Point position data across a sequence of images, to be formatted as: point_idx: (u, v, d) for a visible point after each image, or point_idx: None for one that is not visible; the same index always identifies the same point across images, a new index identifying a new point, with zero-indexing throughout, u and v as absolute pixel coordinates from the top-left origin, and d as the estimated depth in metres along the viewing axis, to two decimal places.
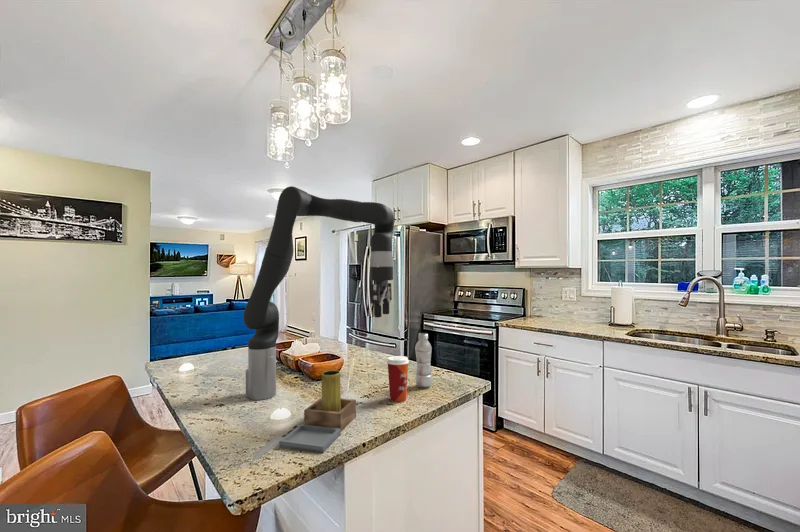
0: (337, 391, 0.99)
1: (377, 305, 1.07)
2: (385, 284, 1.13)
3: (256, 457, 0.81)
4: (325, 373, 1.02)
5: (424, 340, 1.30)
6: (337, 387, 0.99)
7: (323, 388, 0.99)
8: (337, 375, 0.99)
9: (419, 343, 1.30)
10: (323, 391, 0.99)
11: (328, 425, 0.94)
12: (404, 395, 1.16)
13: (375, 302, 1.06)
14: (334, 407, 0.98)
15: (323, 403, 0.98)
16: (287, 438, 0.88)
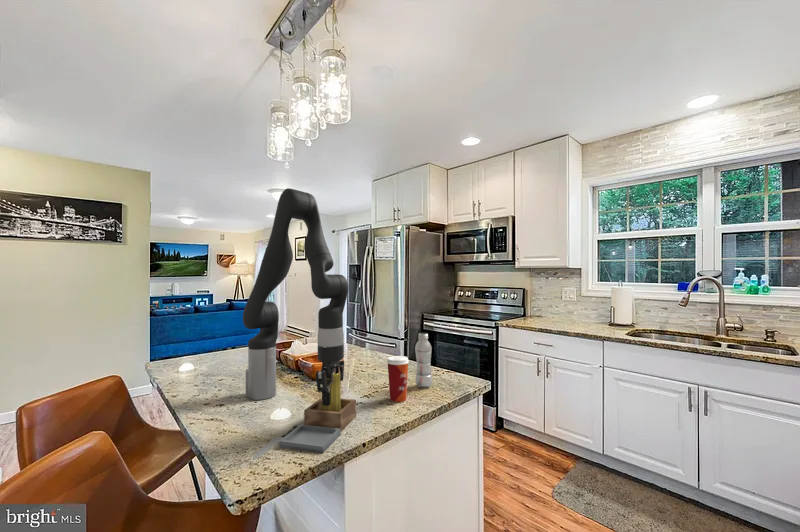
0: (337, 391, 0.99)
1: (325, 393, 0.96)
2: (335, 363, 1.01)
3: (255, 457, 0.81)
4: None
5: (424, 340, 1.30)
6: (337, 387, 0.99)
7: None
8: (337, 375, 0.99)
9: (419, 343, 1.30)
10: None
11: (328, 425, 0.94)
12: (404, 395, 1.16)
13: (322, 391, 0.95)
14: (334, 407, 0.98)
15: None
16: (287, 438, 0.88)
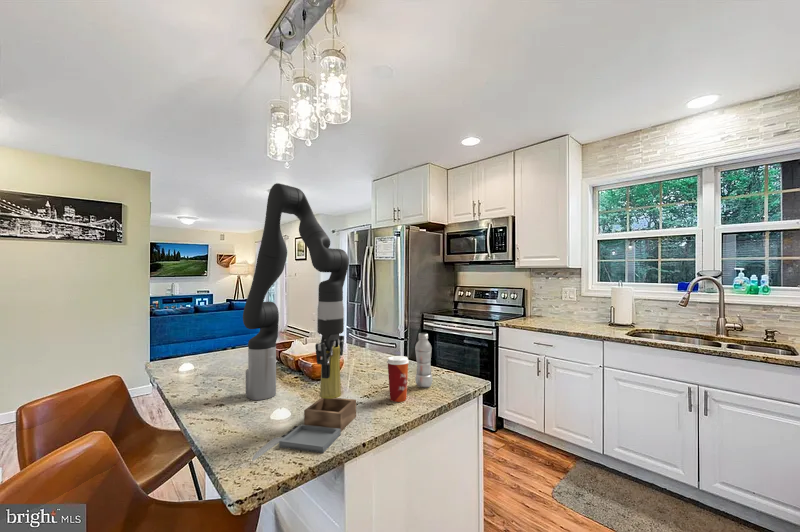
0: (336, 364, 0.99)
1: (324, 365, 0.97)
2: (334, 337, 1.01)
3: (255, 457, 0.81)
4: None
5: (424, 340, 1.30)
6: (337, 360, 0.99)
7: None
8: (337, 348, 0.99)
9: (419, 343, 1.30)
10: None
11: (328, 425, 0.94)
12: (404, 395, 1.16)
13: (321, 363, 0.95)
14: (333, 380, 0.98)
15: None
16: (287, 438, 0.88)
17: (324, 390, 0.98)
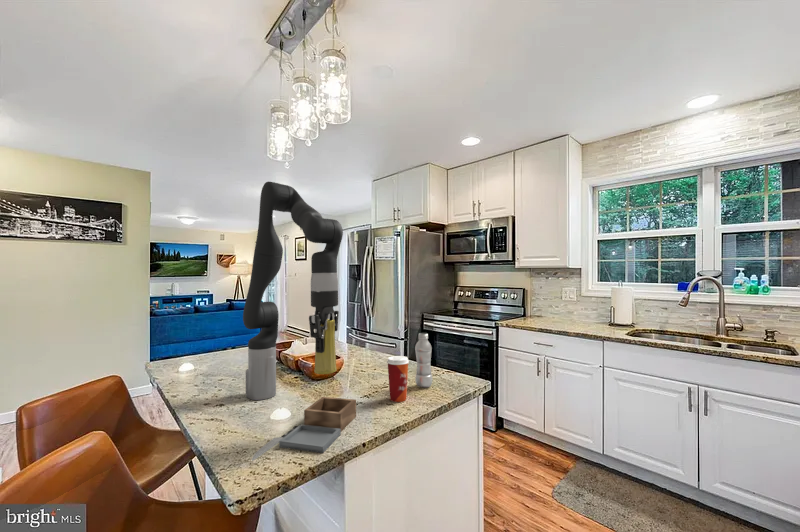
0: (331, 338, 0.95)
1: (318, 339, 0.92)
2: (329, 311, 0.97)
3: (255, 457, 0.81)
4: None
5: (424, 340, 1.30)
6: (331, 334, 0.95)
7: None
8: (331, 322, 0.95)
9: (419, 343, 1.30)
10: None
11: (328, 425, 0.94)
12: (404, 395, 1.16)
13: (315, 336, 0.91)
14: (329, 354, 0.94)
15: None
16: (287, 438, 0.88)
17: (319, 365, 0.94)
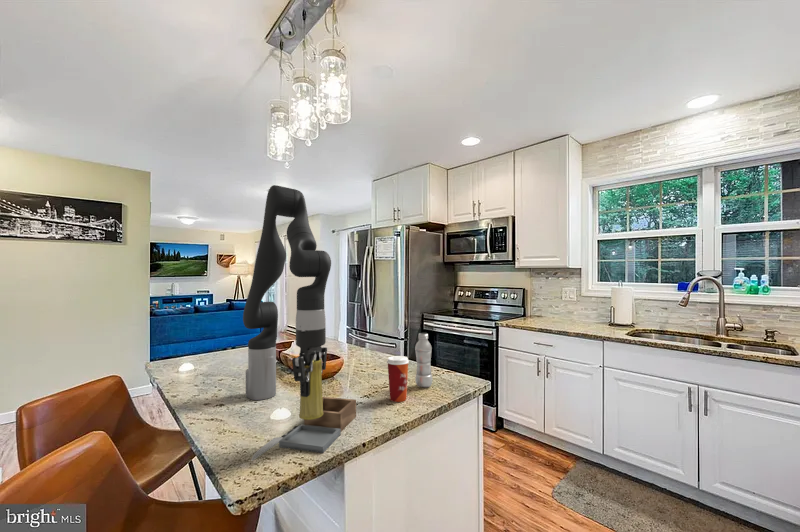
0: (318, 380, 0.88)
1: (303, 382, 0.85)
2: (315, 350, 0.90)
3: (255, 457, 0.81)
4: None
5: (424, 340, 1.30)
6: (318, 376, 0.88)
7: None
8: (318, 362, 0.88)
9: (419, 343, 1.30)
10: None
11: (328, 425, 0.94)
12: (404, 395, 1.16)
13: (299, 380, 0.84)
14: (314, 398, 0.87)
15: None
16: (287, 438, 0.88)
17: (303, 410, 0.87)
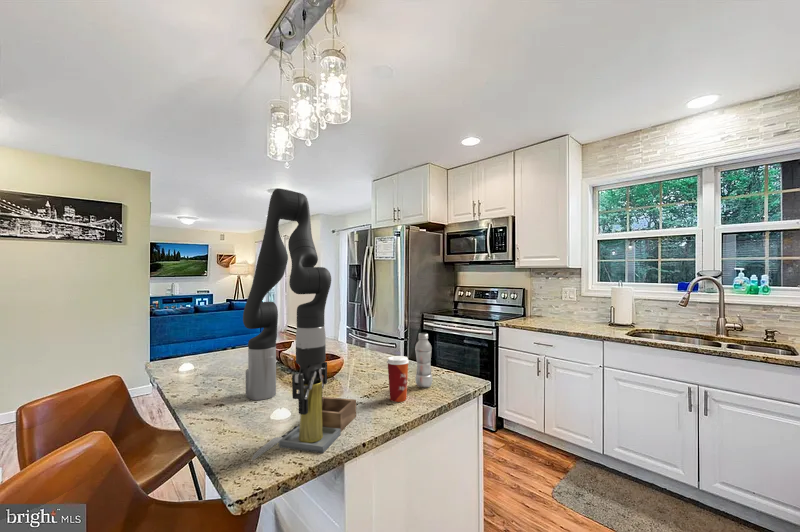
0: (318, 403, 0.88)
1: (301, 400, 0.85)
2: (315, 367, 0.90)
3: (254, 457, 0.81)
4: None
5: (424, 340, 1.30)
6: (318, 398, 0.88)
7: None
8: (318, 385, 0.88)
9: (419, 343, 1.30)
10: None
11: (328, 425, 0.94)
12: (404, 395, 1.16)
13: (298, 398, 0.83)
14: (314, 421, 0.87)
15: (302, 416, 0.87)
16: (287, 438, 0.88)
17: (303, 433, 0.87)
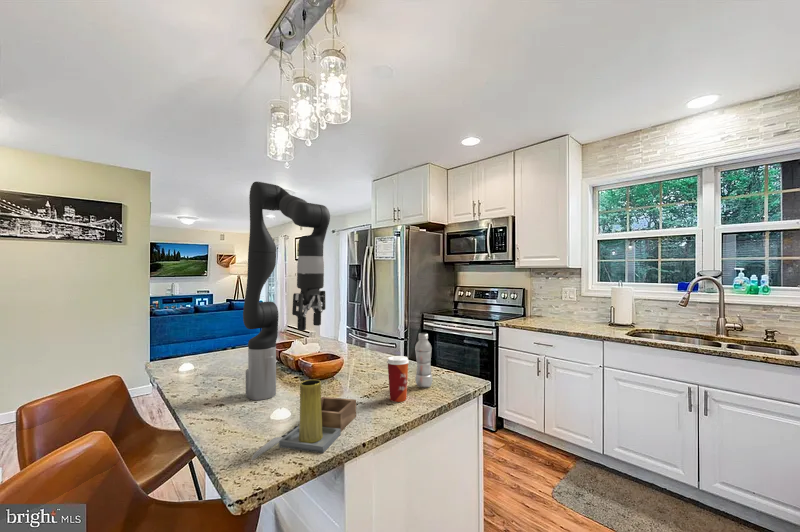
0: (317, 403, 0.88)
1: (300, 317, 0.95)
2: (314, 292, 1.01)
3: (254, 457, 0.81)
4: (304, 383, 0.91)
5: (424, 340, 1.30)
6: (317, 399, 0.88)
7: (301, 400, 0.88)
8: (317, 385, 0.88)
9: (419, 343, 1.30)
10: (301, 403, 0.88)
11: (328, 425, 0.94)
12: (404, 395, 1.16)
13: (297, 314, 0.94)
14: (314, 421, 0.87)
15: (301, 417, 0.87)
16: (287, 438, 0.88)
17: (303, 434, 0.87)
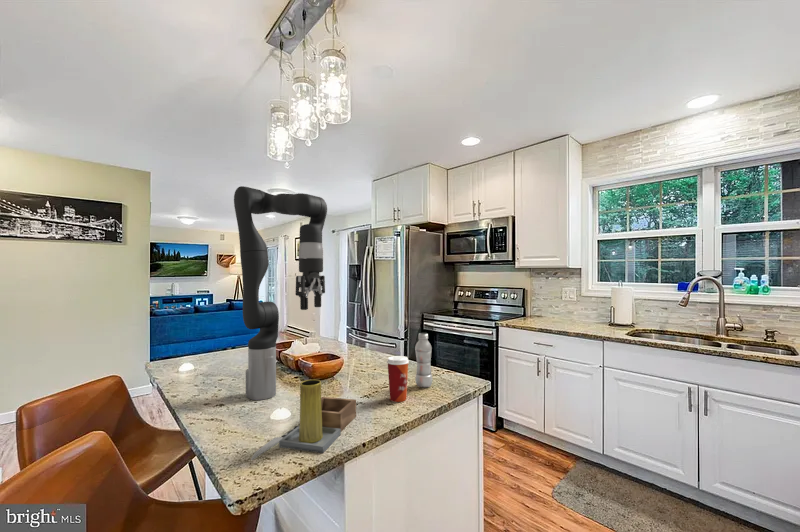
0: (317, 403, 0.88)
1: (303, 297, 1.05)
2: (315, 276, 1.10)
3: (254, 457, 0.81)
4: (304, 383, 0.91)
5: (424, 340, 1.30)
6: (317, 399, 0.88)
7: (301, 400, 0.88)
8: (317, 385, 0.88)
9: (419, 343, 1.30)
10: (301, 403, 0.88)
11: (328, 425, 0.94)
12: (404, 395, 1.16)
13: (299, 294, 1.03)
14: (314, 421, 0.87)
15: (301, 417, 0.87)
16: (287, 438, 0.88)
17: (303, 434, 0.87)
